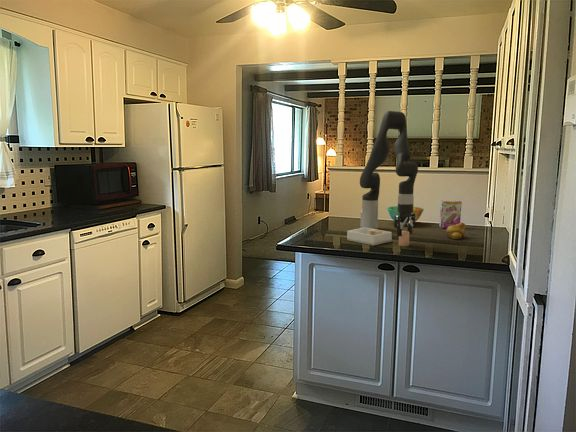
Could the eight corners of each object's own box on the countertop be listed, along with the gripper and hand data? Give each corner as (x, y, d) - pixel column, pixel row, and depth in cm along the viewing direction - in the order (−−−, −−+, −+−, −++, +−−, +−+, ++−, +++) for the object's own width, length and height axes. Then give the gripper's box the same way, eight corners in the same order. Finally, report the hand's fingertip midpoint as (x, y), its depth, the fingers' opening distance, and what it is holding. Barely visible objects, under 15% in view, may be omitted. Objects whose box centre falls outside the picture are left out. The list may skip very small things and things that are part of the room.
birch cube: (368, 240, 237) (368, 230, 236) (374, 238, 240) (374, 229, 239) (376, 241, 233) (376, 231, 232) (382, 240, 236) (382, 230, 236)
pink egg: (396, 245, 230) (397, 231, 229) (402, 243, 233) (403, 230, 232) (404, 246, 226) (405, 232, 225) (410, 245, 229) (411, 231, 228)
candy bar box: (440, 228, 274) (442, 201, 271) (439, 226, 279) (440, 200, 276) (460, 228, 273) (461, 201, 270) (458, 227, 277) (459, 200, 275)
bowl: (388, 220, 302) (389, 205, 300) (424, 222, 295) (424, 206, 293) (384, 226, 281) (384, 210, 280) (421, 228, 274) (422, 211, 272)
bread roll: (463, 241, 239) (464, 225, 238) (443, 239, 243) (444, 224, 242) (465, 236, 251) (466, 222, 249) (446, 235, 255) (447, 220, 254)
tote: (347, 240, 242) (347, 230, 241) (365, 236, 251) (365, 227, 250) (373, 245, 229) (373, 235, 228) (391, 241, 238) (391, 232, 237)
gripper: (407, 201, 233) (406, 232, 236) (390, 203, 224) (389, 235, 227) (420, 202, 228) (419, 234, 230) (403, 204, 219) (402, 238, 221)
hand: (404, 235), depth 228 cm, fingers open, 8 cm apart
